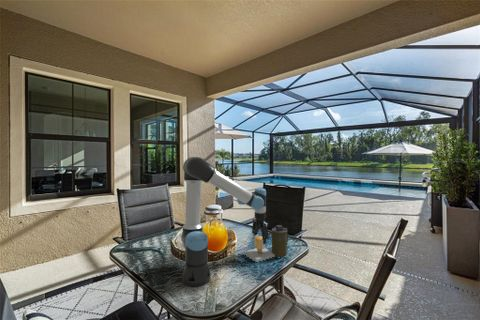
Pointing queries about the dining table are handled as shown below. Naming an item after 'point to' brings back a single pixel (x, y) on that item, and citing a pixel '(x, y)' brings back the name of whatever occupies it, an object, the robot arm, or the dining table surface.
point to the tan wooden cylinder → (258, 242)
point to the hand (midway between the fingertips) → (259, 246)
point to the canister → (279, 241)
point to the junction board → (259, 254)
